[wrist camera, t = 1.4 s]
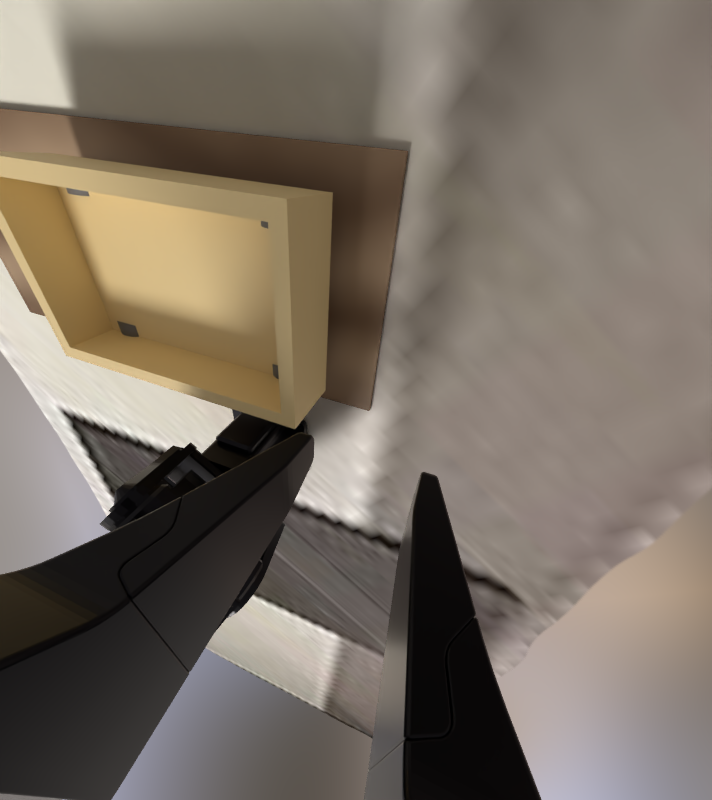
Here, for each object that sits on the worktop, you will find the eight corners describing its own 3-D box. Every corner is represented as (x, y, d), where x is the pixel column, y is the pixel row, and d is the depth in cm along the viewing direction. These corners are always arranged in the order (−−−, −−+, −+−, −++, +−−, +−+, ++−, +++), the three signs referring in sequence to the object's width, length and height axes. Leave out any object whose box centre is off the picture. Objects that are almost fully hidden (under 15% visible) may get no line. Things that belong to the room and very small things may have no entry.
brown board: (370, 408, 22) (369, 410, 22) (34, 310, 29) (30, 311, 29) (408, 151, 14) (406, 150, 13) (-80, 100, 21) (-87, 99, 20)
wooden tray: (332, 381, 21) (295, 429, 17) (134, 326, 25) (66, 355, 21) (342, 191, 15) (286, 198, 11) (72, 153, 18) (-41, 149, 15)
